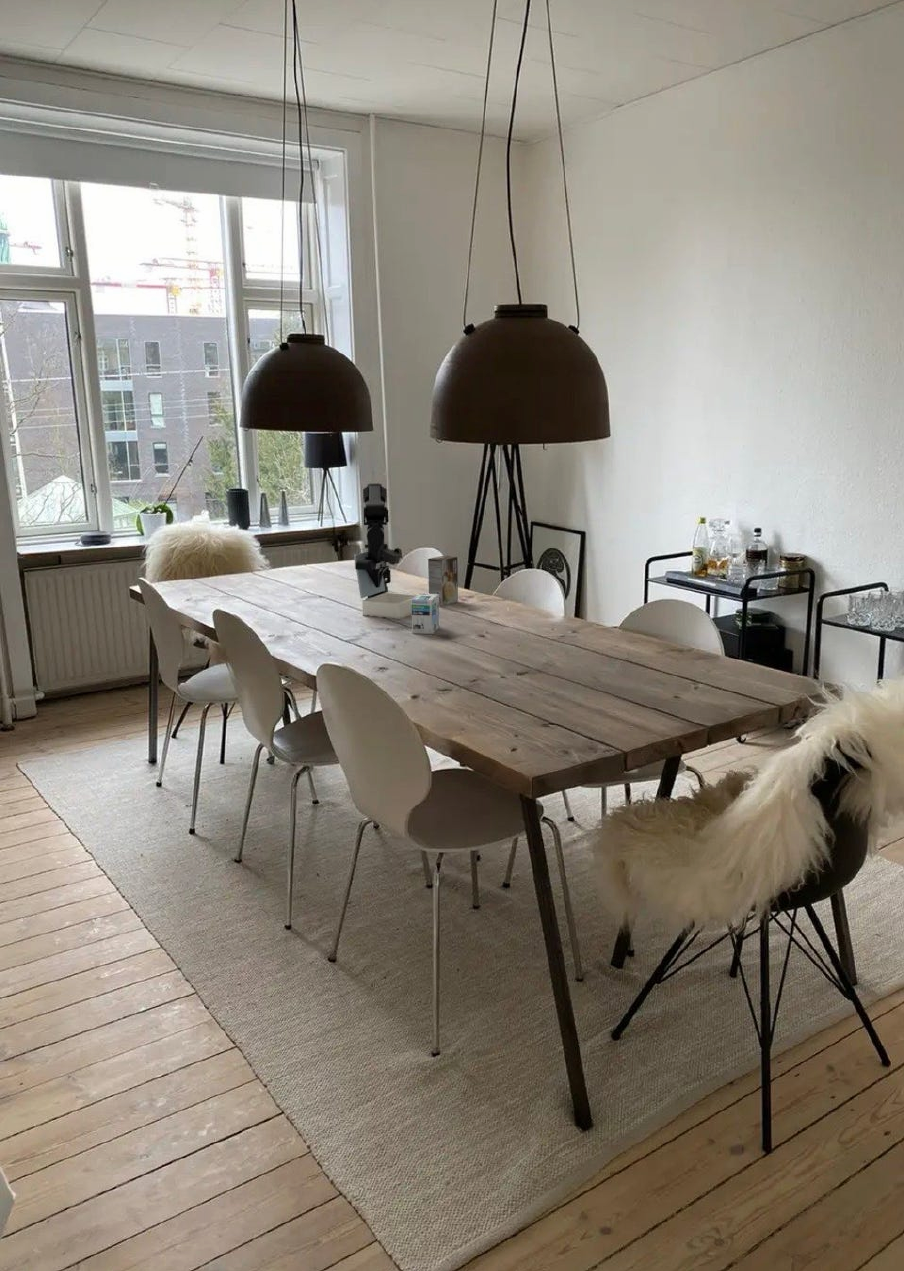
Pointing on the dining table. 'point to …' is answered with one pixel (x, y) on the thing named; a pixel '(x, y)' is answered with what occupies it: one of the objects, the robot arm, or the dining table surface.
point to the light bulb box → (425, 613)
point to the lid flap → (366, 579)
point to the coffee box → (443, 578)
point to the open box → (388, 605)
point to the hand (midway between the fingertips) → (377, 587)
